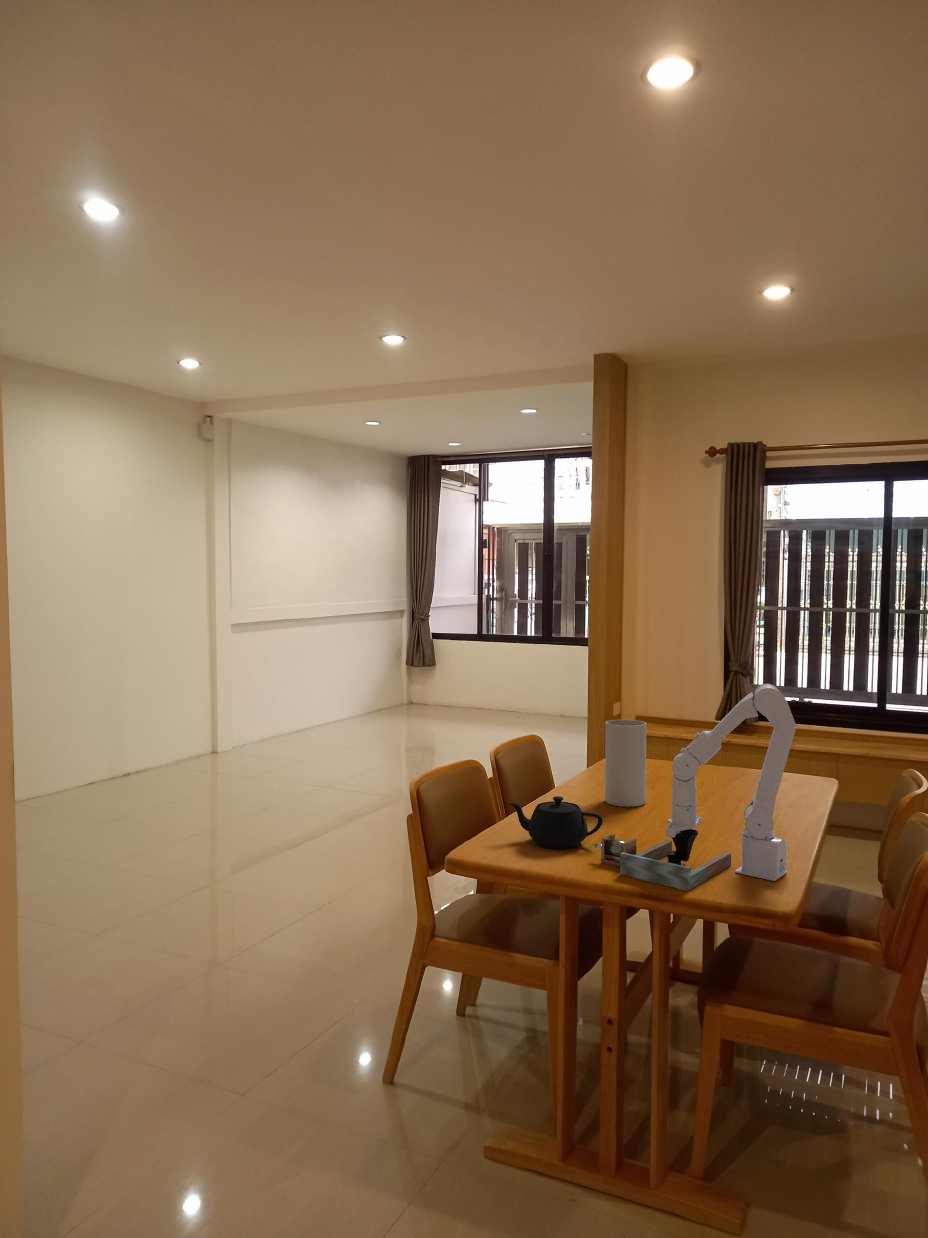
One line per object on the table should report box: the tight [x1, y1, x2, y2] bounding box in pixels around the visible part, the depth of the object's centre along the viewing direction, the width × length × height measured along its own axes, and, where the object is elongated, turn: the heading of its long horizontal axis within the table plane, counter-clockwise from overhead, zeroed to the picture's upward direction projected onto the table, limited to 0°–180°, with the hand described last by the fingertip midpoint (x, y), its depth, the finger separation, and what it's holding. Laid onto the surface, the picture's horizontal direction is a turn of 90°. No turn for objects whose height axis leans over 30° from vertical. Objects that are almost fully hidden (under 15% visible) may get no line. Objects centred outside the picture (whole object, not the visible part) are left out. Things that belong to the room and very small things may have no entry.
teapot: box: [508, 795, 604, 850], centre depth 227 cm, size 25×16×12 cm, turn 74°
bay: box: [619, 839, 732, 892], centre depth 205 cm, size 17×23×5 cm
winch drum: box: [594, 833, 637, 868], centre depth 211 cm, size 9×5×6 cm, turn 50°
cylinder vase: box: [604, 719, 647, 808], centre depth 269 cm, size 12×12×25 cm
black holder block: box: [666, 849, 687, 867], centre depth 206 cm, size 12×7×5 cm, turn 171°
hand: (683, 860), depth 208 cm, fingers closed
